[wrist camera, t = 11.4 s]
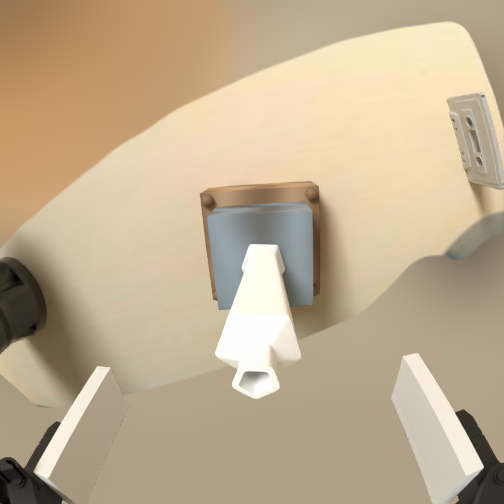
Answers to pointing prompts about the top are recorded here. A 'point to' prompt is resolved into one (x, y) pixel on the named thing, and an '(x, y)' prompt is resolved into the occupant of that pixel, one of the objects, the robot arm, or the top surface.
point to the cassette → (477, 139)
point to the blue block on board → (263, 235)
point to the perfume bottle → (259, 325)
